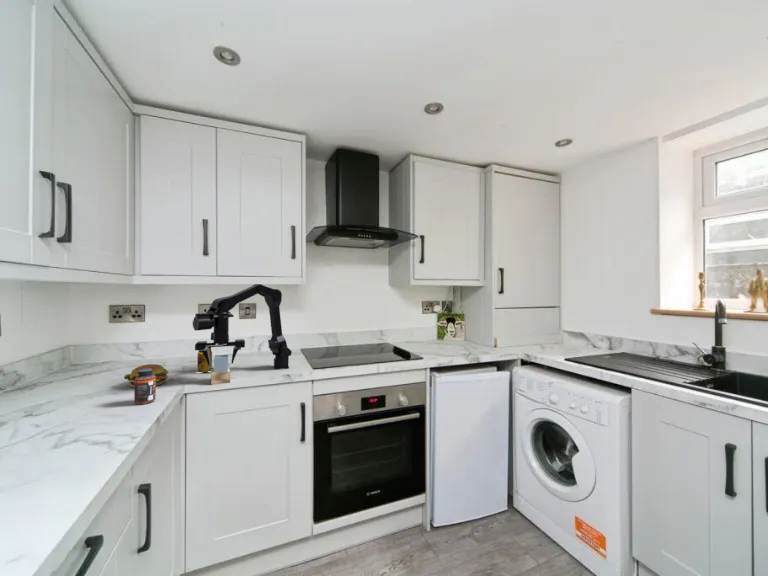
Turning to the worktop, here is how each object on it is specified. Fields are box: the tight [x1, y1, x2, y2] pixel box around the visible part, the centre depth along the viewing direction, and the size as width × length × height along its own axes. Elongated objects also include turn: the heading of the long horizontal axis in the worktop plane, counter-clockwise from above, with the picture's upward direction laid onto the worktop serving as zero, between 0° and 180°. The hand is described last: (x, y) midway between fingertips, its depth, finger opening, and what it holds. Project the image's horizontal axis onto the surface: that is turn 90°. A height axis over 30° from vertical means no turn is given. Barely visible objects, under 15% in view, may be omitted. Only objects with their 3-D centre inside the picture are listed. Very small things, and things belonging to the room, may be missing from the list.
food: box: [123, 363, 169, 389], centre depth 132 cm, size 14×14×8 cm
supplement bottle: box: [133, 369, 157, 406], centre depth 112 cm, size 6×6×11 cm
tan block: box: [210, 367, 231, 386], centre depth 136 cm, size 7×7×5 cm
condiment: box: [196, 347, 213, 372], centre depth 153 cm, size 7×8×12 cm
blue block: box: [213, 354, 229, 372], centre depth 136 cm, size 5×5×6 cm
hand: (220, 364), depth 136 cm, fingers open, 8 cm apart
